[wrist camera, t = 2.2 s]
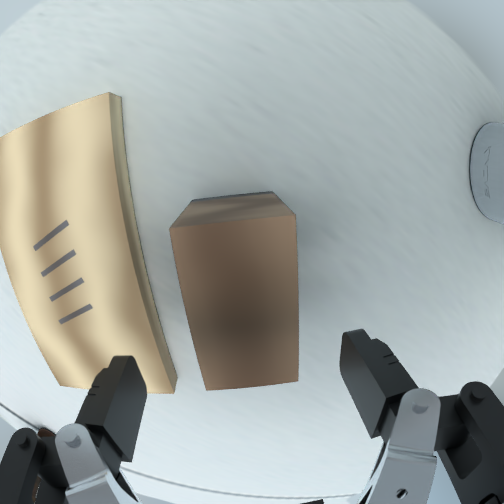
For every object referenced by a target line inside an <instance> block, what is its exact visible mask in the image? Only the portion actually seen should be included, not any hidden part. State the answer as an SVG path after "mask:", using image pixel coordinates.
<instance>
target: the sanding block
mask: <svg viewBox="0 0 504 504" xmlns="http://www.w3.org/2000/svg"><path fill="white" fill-rule="evenodd" d="M169 231H170V236H171V242H172V248H173V253H174V258H175V263H176V269H177V274H178V278H179V283H180V288H181V293H182V297H183V302H184V306H185V311H186V315H187V319H188V323H189V328H190V332H191V336H192V340H193V344H194V348H195V351H196V355H197V359H198V363H199V366H200V370H201V374H202V377H203V381H204V384H205V388H206V390H224V389H237V388H248V387H258V386H267V385H275V384H282V383H289V382H296V381H298V368H299V307H298V262H297V235H296V215H295V214H294V213H293V212H292V211H291V210H290V209H289V208H288V207H287V206H286V205H285V204H284V203H283V202H282V201H281V200H280V199H279V198H278V197H277V196H276V195H275V193H274V192H273V191H271V192H259V193H249V194H239V195H229V196H220V197H212V198H203V199H195V200H192V201H191V202H190V204H189V205H188V206H187V207H186V208H185V210H184V211H183V212H182V213H181V215H180V216H179V217H178V218H177V219H176V221H175V222H174V223H173V224H172V226H171V227H170V228H169Z"/></svg>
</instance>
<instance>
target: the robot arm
mask: <svg viewBox="0 0 504 504" xmlns="http://www.w3.org/2000/svg"><path fill="white" fill-rule="evenodd" d="M470 175H471V185H472V191H473V195H474V198H475V201H476V203H477V206H478V208H479V209H480V211H481V212H482V214H483V215H485V216H486V217H487V218H489V219H491V220H494V221H496V222H499V223H501V224H503V225H504V123H496V122H494V123H488V124H486V125H484V126H483V127H482V128H481V129H480V130H479V132H478V134H477V136H476V138H475V141H474V144H473V148H472V154H471V164H470ZM340 372H341V375H342V378H343V380H344V382H345V384H346V386H347V388H348V390H349V393H350V395H351V397H352V399H353V401H354V403H355V405H356V407H357V409H358V412H359V414H360V416H361V418H362V420H363V422H364V424H365V427H366V429H367V431H368V433H369V435H370V437H371V439H372V438H375V437H378V436H381V437H382V439H383V441H384V442H383V444H382V446H381V449H380V452H379V455H378V457H377V460H376V463H375V465H374V468H373V470H372V473H371V475H370V477H369V480H368V482H367V484H366V486H365V488H364V490H363V492H362V494H361V496H360V498H359V500H358V502H357V504H426V503H427V500H428V497H429V493H430V489H431V486H432V482H433V477H434V474H435V470H436V465H437V457H436V456H433V451H437V452H438V454H439V456H440V458H441V461H442V463H443V464H444V467H445V469H446V471H447V473H448V475H449V477H450V479H451V481H452V484H453V486H454V488H455V490H456V493H457V495H458V497H459V499H460V502H461V504H504V406H503V405H502V403H501V402H500V401H499V399H498V398H497V397H496V395H495V394H494V393H493V391H492V390H491V389H490V388H489V387H488V386H487V385H486V384H484V383H481V382H469V383H467V384H466V385H464V386H463V388H462V389H461V391H460V393H459V394H457V395H450V396H443V397H438V396H437V395H436V394H435V393H434V392H432V391H430V390H427V389H423V388H418V386H417V385H416V384H415V382H414V381H413V379H412V378H411V377H410V375H409V374H408V372H407V371H406V370H405V368H404V367H403V366H402V364H401V363H400V362H399V360H398V359H397V358H396V356H395V355H394V353H393V352H392V351H391V349H390V348H389V347H388V345H386V344H385V343H383V342H382V341H380V340H378V339H377V338H376V339H372V340H371V339H370V337H369V336H368V335H367V333H366V332H365V330H364V329H358V330H353V331H349V332H344V333H343V336H342V344H341V354H340ZM146 399H147V387H146V383H145V381H144V379H143V376H142V374H141V372H140V369H139V367H138V365H137V362H136V360H135V358H134V357H133V356H132V355H116V356H113V358H112V360H111V362H110V364H109V366H108V368H103V369H102V370H101V371H100V372H99V373H98V374H97V375H96V376H95V379H94V381H93V383H92V385H91V388H90V389H89V392H88V395H87V396H86V398H85V400H84V403H83V405H82V407H81V409H80V412H79V414H78V416H77V419H76V421H75V423H74V424H69V425H66V426H64V427H63V428H61V429H60V430H59V431H58V433H57V435H56V436H50V437H39V436H38V435H37V434H36V433H35V431H34V430H32V429H30V428H21V429H19V430H17V431H16V432H15V433H14V434H13V435H12V437H11V439H10V441H9V444H8V446H7V449H6V451H5V453H4V456H3V458H2V461H1V464H0V504H34V502H33V500H32V492H33V489H34V485H35V482H36V478H37V475H38V476H39V477H40V478H41V482H40V485H39V489H38V493H37V497H36V500H35V504H143V503H142V502H141V500H140V499H139V497H138V496H137V494H136V493H135V491H134V490H133V488H132V487H131V485H130V483H129V482H128V480H127V479H126V477H125V475H124V474H123V472H122V470H121V469H120V464H121V461H124V462H132V459H133V454H134V449H135V445H136V440H137V436H138V431H139V427H140V423H141V419H142V415H143V411H144V406H145V402H146ZM471 435H472V436H471ZM474 440H475V441H474ZM302 504H324V502H323V499H321V500H316V501H312V502H307V503H302Z"/></svg>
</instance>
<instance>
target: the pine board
mask: <svg viewBox="0 0 504 504" xmlns="http://www.w3.org/2000/svg"><path fill="white" fill-rule="evenodd" d="M0 248H1V252H2V256H3V259H4V262H5V266H6V269H7V272H8V275H9V278H10V281H11V284H12V287H13V289H14V292H15V295H16V297H17V300H18V302H19V305H20V307H21V310H22V312H23V315H24V317H25V319H26V322H27V324H28V326H29V328H30V330H31V333H32V335H33V337H34V339H35V341H36V343H37V345H38V347H39V349H40V351H41V353H42V355H43V357H44V358H45V360H46V362H47V364H48V366H49V368H50V369H51V371H52V373H53V375H54V376H55V378H56V380H57V381H58V383H59V385H60V386H66V387H74V388H82V389H90V388H91V385H92V383H93V381H94V379H95V376H96V375H97V374H98V373H99V372H100V371H101V370H102V369H103V368H108V366H109V364H110V362H111V360H112V358H113V356H116V355H132V356H133V357H134V358H135V360H136V362H137V365H138V367H139V369H140V372H141V374H142V376H143V379H144V381H145V383H146V387H147V393H159V394H174V392H175V387H176V382H177V374H176V372H175V369H174V366H173V363H172V360H171V357H170V354H169V351H168V348H167V344H166V341H165V338H164V335H163V331H162V328H161V325H160V321H159V318H158V314H157V311H156V307H155V303H154V299H153V296H152V292H151V288H150V284H149V280H148V276H147V272H146V267H145V263H144V259H143V254H142V249H141V245H140V240H139V235H138V230H137V224H136V219H135V214H134V208H133V202H132V196H131V189H130V183H129V176H128V168H127V160H126V152H125V142H124V132H123V120H122V106H121V97H119V96H117V95H114V94H112V93H110V92H108V93H104V94H101V95H98V96H95V97H92V98H89V99H86V100H83V101H80V102H77V103H75V104H72V105H69V106H67V107H64V108H62V109H59V110H57V111H54V112H52V113H49V114H47V115H45V116H42V117H40V118H38V119H36V120H34V121H31V122H29V123H27V124H25V125H23V126H21V127H19V128H17V129H15V130H13V131H11V132H9V133H7V134H6V135H4V136H2V137H0Z"/></svg>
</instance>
